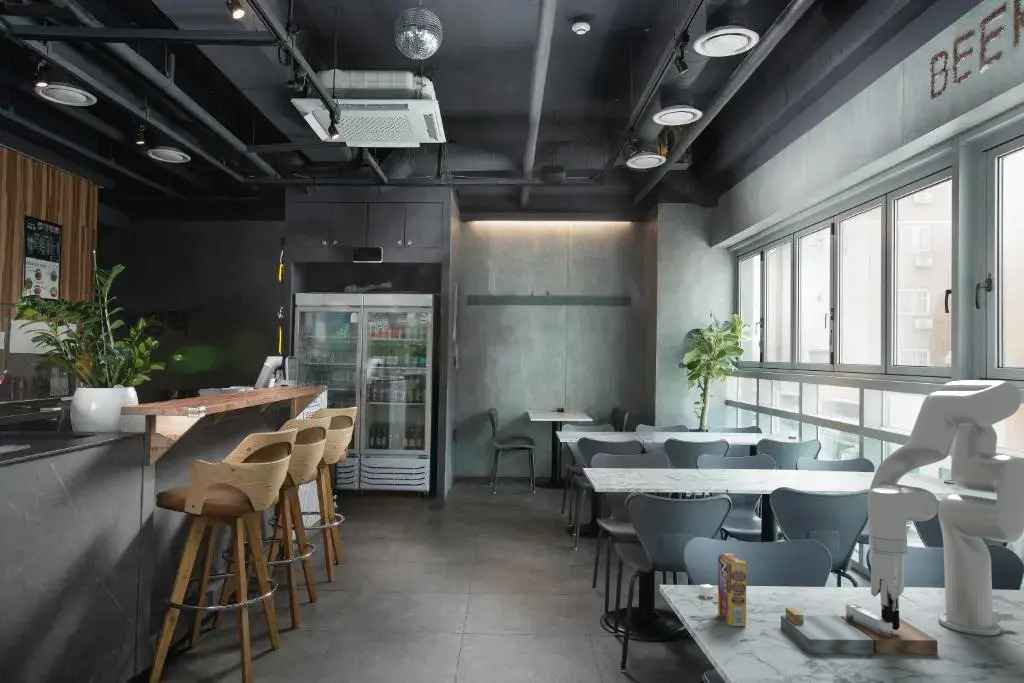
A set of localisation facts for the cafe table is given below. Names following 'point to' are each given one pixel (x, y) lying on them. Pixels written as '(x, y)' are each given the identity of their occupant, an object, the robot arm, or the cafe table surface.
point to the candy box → (732, 589)
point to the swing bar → (869, 620)
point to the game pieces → (708, 591)
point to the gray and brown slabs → (853, 636)
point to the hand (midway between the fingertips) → (890, 627)
